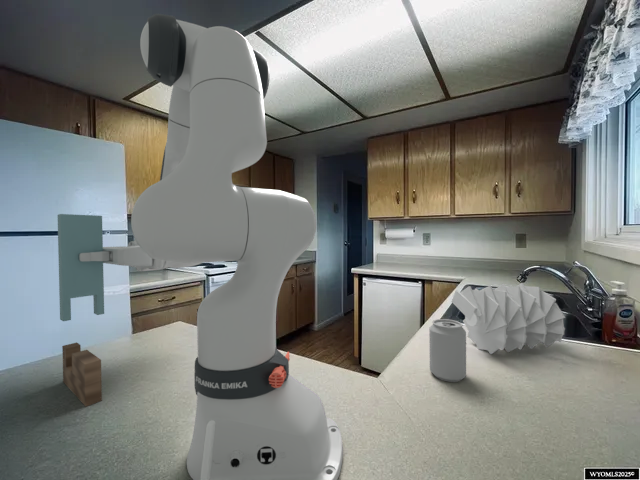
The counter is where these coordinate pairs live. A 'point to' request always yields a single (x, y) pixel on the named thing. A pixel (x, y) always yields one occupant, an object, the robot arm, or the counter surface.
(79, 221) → the teal plate
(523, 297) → the spiral staircase
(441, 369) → the can
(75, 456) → the counter surface
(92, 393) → the notched walnut block
